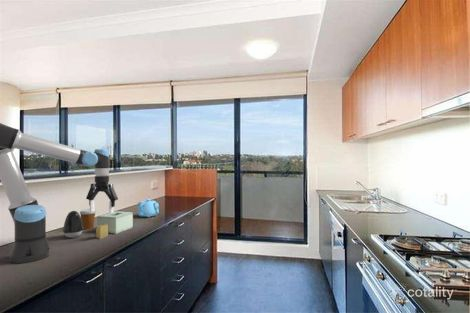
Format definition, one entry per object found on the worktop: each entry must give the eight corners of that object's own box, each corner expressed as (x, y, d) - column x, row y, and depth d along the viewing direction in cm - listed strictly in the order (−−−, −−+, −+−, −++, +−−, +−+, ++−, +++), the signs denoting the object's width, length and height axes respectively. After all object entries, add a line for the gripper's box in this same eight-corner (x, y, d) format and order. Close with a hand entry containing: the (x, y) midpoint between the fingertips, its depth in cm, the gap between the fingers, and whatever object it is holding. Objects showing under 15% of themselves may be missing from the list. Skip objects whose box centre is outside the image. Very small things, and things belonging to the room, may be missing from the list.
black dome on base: (60, 240, 155) (60, 213, 155) (66, 235, 165) (66, 209, 165) (80, 238, 157) (80, 212, 158) (85, 233, 167) (85, 208, 168)
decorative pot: (159, 217, 213) (159, 200, 213) (137, 219, 208) (137, 201, 208) (157, 213, 228) (157, 197, 229) (137, 214, 223) (137, 198, 223)
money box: (116, 233, 167) (115, 217, 167) (97, 232, 171) (97, 216, 171) (132, 227, 182) (132, 212, 182) (115, 226, 186) (115, 211, 186)
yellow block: (100, 238, 157) (100, 226, 157) (96, 238, 158) (96, 226, 158) (108, 236, 163) (108, 224, 163) (103, 235, 164) (103, 223, 164)
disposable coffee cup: (94, 229, 177) (94, 211, 177) (77, 230, 174) (77, 211, 175) (97, 226, 186) (97, 208, 186) (81, 227, 184) (81, 209, 184)
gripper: (124, 175, 161) (124, 211, 161) (89, 174, 168) (89, 209, 167) (115, 176, 154) (115, 214, 153) (79, 175, 160) (79, 211, 160)
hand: (101, 211), depth 160 cm, fingers open, 13 cm apart
